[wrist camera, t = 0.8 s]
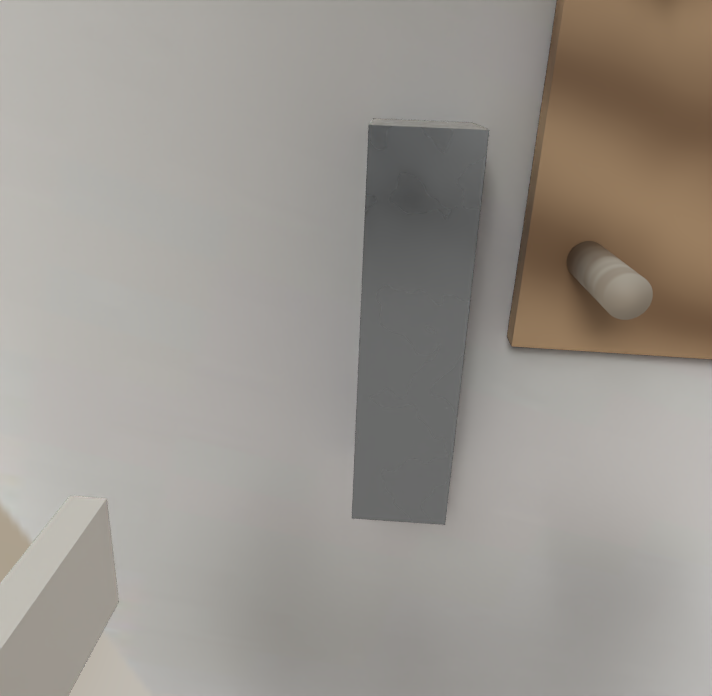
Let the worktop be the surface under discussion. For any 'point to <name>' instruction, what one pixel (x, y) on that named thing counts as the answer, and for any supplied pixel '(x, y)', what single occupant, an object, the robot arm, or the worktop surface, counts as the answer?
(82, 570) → the robot arm
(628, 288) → the peg rack
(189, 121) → the worktop surface
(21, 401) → the worktop surface
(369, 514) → the steel bar
